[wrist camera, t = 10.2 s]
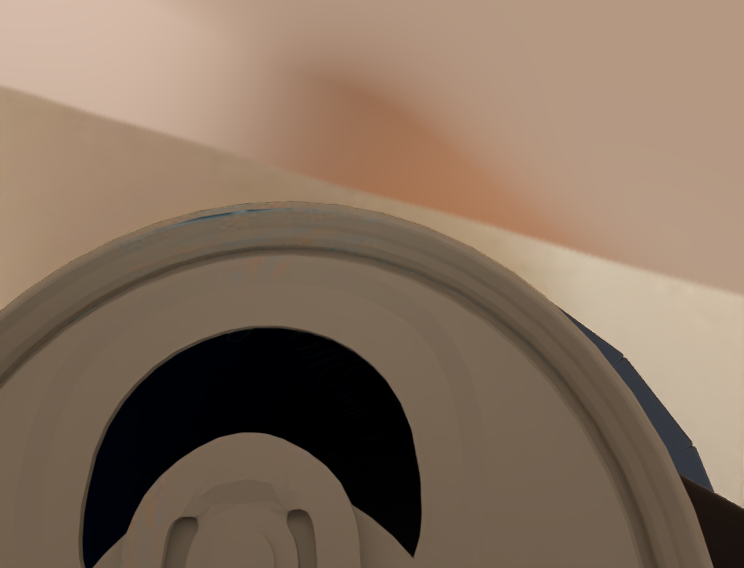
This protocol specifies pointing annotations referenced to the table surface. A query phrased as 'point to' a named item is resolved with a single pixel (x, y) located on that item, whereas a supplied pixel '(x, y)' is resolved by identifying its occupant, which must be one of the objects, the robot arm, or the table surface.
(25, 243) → the table surface
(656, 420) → the pot
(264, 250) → the beverage can
